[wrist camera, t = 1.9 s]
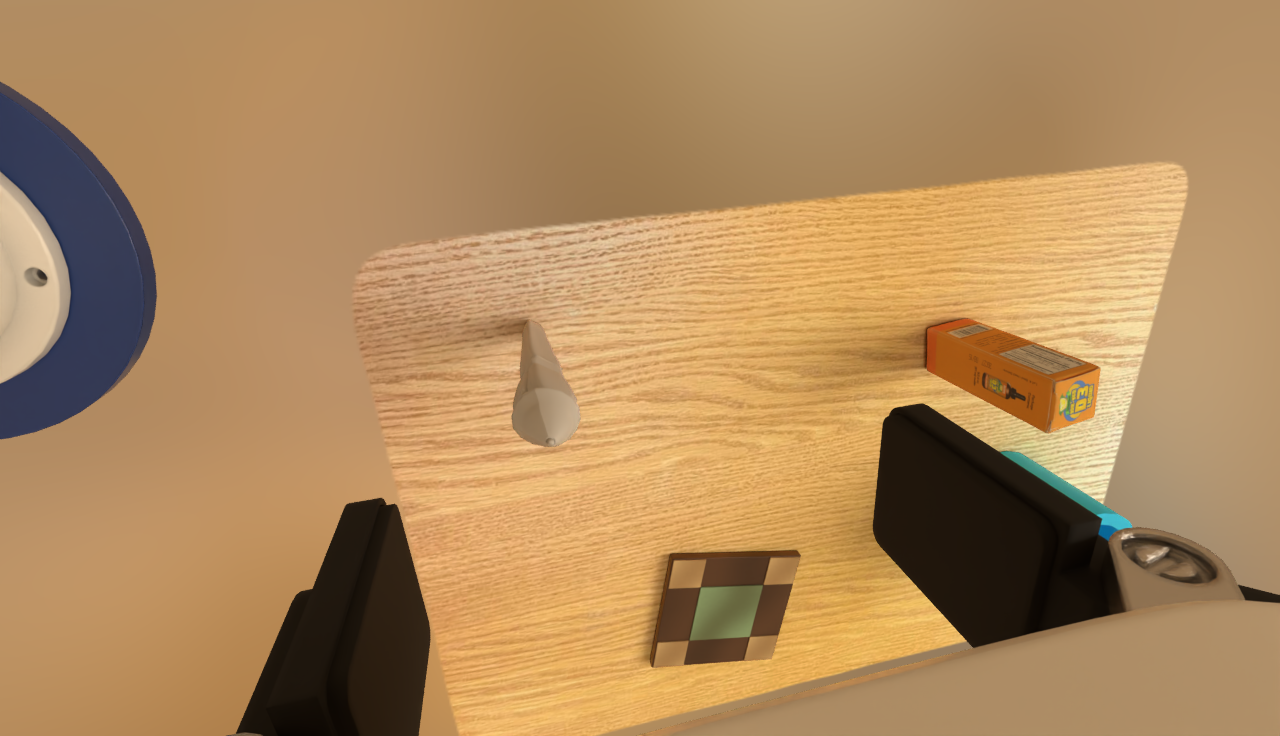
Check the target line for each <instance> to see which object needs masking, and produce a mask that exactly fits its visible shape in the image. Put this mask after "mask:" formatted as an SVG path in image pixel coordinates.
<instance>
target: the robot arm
mask: <svg viewBox="0 0 1280 736" xmlns="http://www.w3.org/2000/svg"><path fill="white" fill-rule="evenodd" d="M43 272H44V273H45V274H46V276H45V275H44V273H43ZM70 297H71V289H70V281H69V273H68V267H67V264H66V261H65V259H64V256H63V253H62V250H61V247H60V244H59V242H58V240H57V239H56V237H55V235H54V234H53V232H52V230H51V228H50V227H49V225H48V223H47V222H46V220H45V218H44V217H43V215H42V214H41V213H40V212H39V211H38V209H37V208H36V207H35V206H34V205H33V203H32V202H31V201H30V200H29V198H28V197H27V196H26V195H25V194H24V192H23V191H21V190H20V189H19V188H18V187H17V186H16V185H15V184H14V183H13V182H11V181H10V180H9V179H8V178H7V177H6V176H5V175H4V174H3V173H1V172H0V383H3V382H5V381H7V380H9V379H11V378H13V377H15V376H17V375H18V374H20V373H22V372H24V371H26V370H28V369H29V368H30V367H32V366H33V365H34V364H35V363H37V362H38V361H39V360H40V359H41V358H43V357H44V356H45V355H46V354H47V353H48V352H49V351H50V349H51V348H52V347H53V345H54V344H55V343H56V341H57V340H58V339H59V337H60V335H61V333H62V330H63V328H64V325H65V323H66V320H67V318H68V314H69V306H70ZM1101 522H1102V518H1100V517H1099V516H1097V515H1096V514H1094V513H1092V512H1091V511H1089V510H1088V509H1086V508H1085V507H1083V506H1082V505H1080V504H1079V503H1077V502H1075V501H1074V500H1072V499H1071V498H1069V497H1068V496H1066V495H1065V494H1063V493H1062V492H1060V491H1058V490H1057V489H1055V488H1054V487H1052V486H1051V485H1049V484H1048V483H1046V482H1045V481H1043V480H1042V479H1040V478H1038V477H1037V476H1035V475H1034V474H1032V473H1031V472H1029V471H1028V470H1026V469H1025V468H1023V467H1021V466H1020V465H1018V464H1017V463H1015V462H1014V461H1012V460H1011V459H1009V458H1008V457H1006V456H1004V455H1003V454H1001V453H1000V452H998V451H997V450H995V449H994V448H992V447H991V446H989V445H987V444H986V443H984V442H983V441H981V440H980V439H978V438H977V437H975V436H974V435H972V434H971V433H969V432H967V431H966V430H964V429H963V428H961V427H960V426H958V425H957V424H955V423H954V422H952V421H950V420H949V419H947V418H946V417H944V416H943V415H941V414H940V413H938V412H937V411H935V410H933V409H932V408H930V407H929V406H927V405H925V404H915V405H909V406H903V407H897V408H894V409H893V410H892V411H891V412H890V415H889V416H888V417H886V418H885V420H884V422H883V428H882V438H881V448H880V458H879V468H878V479H877V489H876V499H875V509H874V519H873V532H874V536H875V539H876V541H877V543H878V544H879V545H880V547H881V548H882V549H883V550H884V551H885V552H886V553H887V554H888V555H889V556H890V557H891V559H892V560H893V561H894V562H895V563H896V564H897V565H898V566H899V567H900V568H901V569H902V571H903V572H904V573H905V574H906V575H907V576H908V577H909V578H910V579H911V580H912V581H913V583H914V584H915V585H916V586H917V587H918V588H919V589H920V590H921V591H922V592H923V594H924V595H925V596H926V597H927V598H928V599H929V600H930V601H931V602H932V603H933V604H934V606H935V607H936V608H937V609H938V610H939V611H940V612H941V613H942V614H943V615H944V616H945V618H946V619H947V620H948V621H949V622H950V623H951V624H952V625H953V626H954V627H955V628H956V630H957V631H958V632H959V633H960V634H961V635H962V636H963V637H964V638H965V639H966V640H967V642H968V643H969V644H970V645H971V646H972V647H973V648H972V649H968V650H964V651H960V652H956V653H952V654H948V655H945V656H941V657H936V658H932V659H928V660H925V661H920V662H916V663H912V664H909V665H904V666H901V667H897V668H893V669H889V670H885V671H881V672H877V673H873V674H870V675H866V676H862V677H858V678H854V679H850V680H846V681H842V682H839V683H835V684H831V685H827V686H823V687H819V688H816V689H811V690H808V691H804V692H800V693H796V694H792V695H788V696H784V697H781V698H777V699H773V700H769V701H766V702H762V703H758V704H754V705H750V706H746V707H742V708H738V709H734V710H731V711H727V712H723V713H719V714H715V715H712V716H708V717H704V718H700V719H697V720H693V721H689V722H685V723H681V724H678V725H674V726H671V727H667V728H663V729H659V730H655V731H651V732H648V733H644V734H640V735H636V736H1280V595H1277V594H1272V593H1269V592H1265V591H1261V590H1257V589H1253V588H1249V587H1245V586H1241V585H1237V583H1236V580H1235V578H1234V577H1233V575H1232V573H1231V571H1230V569H1229V568H1228V567H1227V565H1226V564H1225V563H1224V562H1223V560H1222V559H1220V558H1219V557H1218V556H1217V555H1215V554H1214V553H1213V552H1211V551H1210V550H1209V549H1207V548H1205V547H1203V546H1201V545H1199V544H1197V543H1196V542H1194V541H1192V540H1189V539H1186V538H1184V537H1181V536H1179V535H1176V534H1173V533H1169V532H1165V531H1161V530H1157V529H1150V528H1141V527H1136V528H1124V529H1121V530H1118V531H1115V532H1114V533H1113V534H1112V535H1111V536H1110V538H1109V541H1108V540H1106V539H1105V538H1103V537H1102V536H1100V535H1099V534H1098V533H1099V530H1100V526H1101ZM429 648H430V626H429V620H428V616H427V613H426V609H425V605H424V601H423V598H422V594H421V590H420V587H419V583H418V579H417V575H416V572H415V568H414V564H413V561H412V557H411V553H410V549H409V546H408V542H407V538H406V534H405V531H404V527H403V523H402V520H401V516H400V512H399V509H398V507H397V505H395V504H391V505H386V502H385V501H384V499H382V498H378V499H372V500H366V501H360V502H354V503H349V504H347V505H346V506H345V508H344V510H343V513H342V515H341V518H340V520H339V523H338V526H337V528H336V531H335V533H334V536H333V538H332V541H331V543H330V546H329V548H328V551H327V553H326V556H325V558H324V561H323V564H322V566H321V569H320V571H319V574H318V576H317V579H316V581H315V584H314V586H313V589H310V590H305V591H301V592H299V593H298V594H297V595H296V596H295V598H294V600H293V601H292V603H291V606H290V608H289V611H288V613H287V615H286V617H285V620H284V622H283V625H282V627H281V629H280V631H279V634H278V636H277V639H276V641H275V643H274V646H273V648H272V650H271V653H270V655H269V657H268V660H267V662H266V664H265V667H264V669H263V671H262V674H261V676H260V678H259V681H258V683H257V685H256V688H255V691H254V692H253V695H252V697H251V700H250V702H249V704H248V707H247V709H246V711H245V713H244V716H243V718H242V721H241V723H240V725H239V728H238V730H237V732H236V734H234V735H227V736H419V728H420V719H421V712H422V704H423V696H424V688H425V680H426V671H427V664H428V656H429Z"/></svg>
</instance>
